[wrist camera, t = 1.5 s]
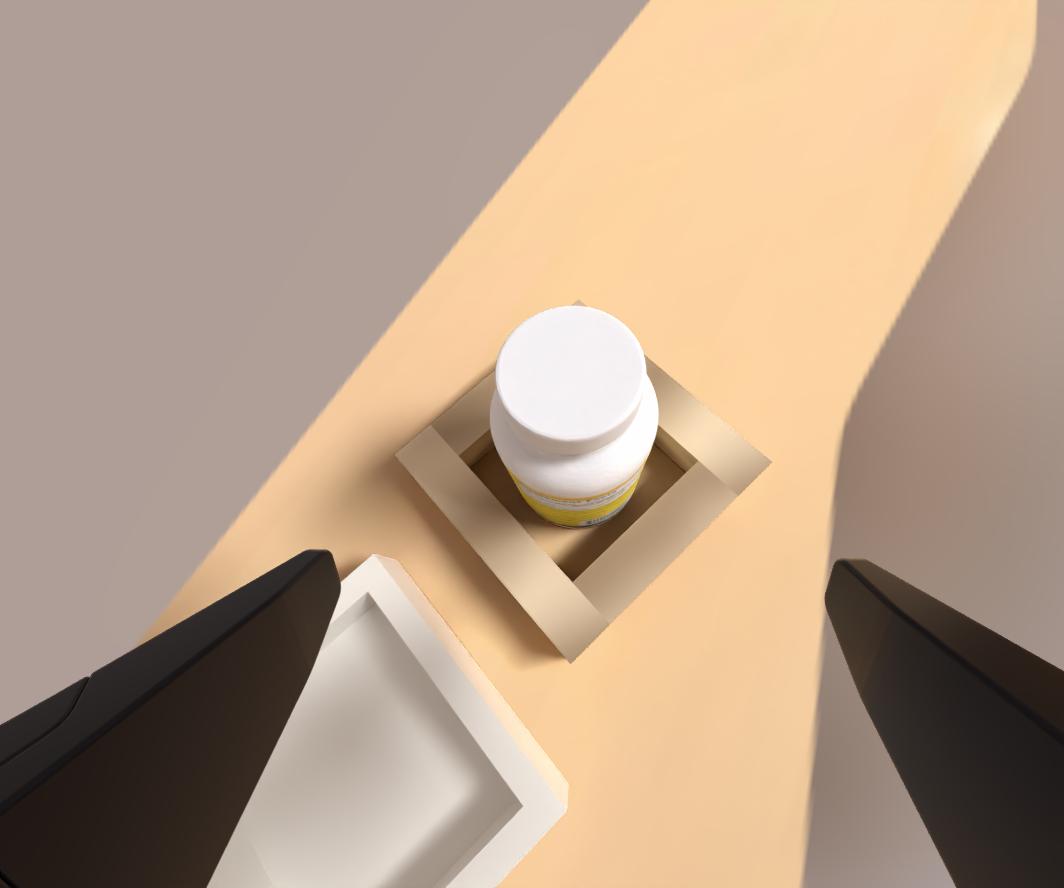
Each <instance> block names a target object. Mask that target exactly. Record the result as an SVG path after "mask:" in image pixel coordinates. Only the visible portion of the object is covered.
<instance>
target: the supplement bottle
mask: <svg viewBox="0 0 1064 888" xmlns="http://www.w3.org/2000/svg"><path fill="white" fill-rule="evenodd" d="M495 386H496V388H495V391H494V394H493V397H492V401H491V407H490V428H491V434H492V438H493V441H494V444H495V447H496V449H497V451H498V454H499V456H500V458H501V460H502V462H503V463H504V465H505V467H506V468H507V470H508V472H509V473H510V475H511V477H512V479H513V481H514V482H515V484H516V486H517V488H518V489H519V491H520V493H521V495H522V496H523V498H524V499H525V501H526V502H527V504H528V505H529V506H530V507H531V508H532V509H533V510H534V511H535V512H536V513H537V514H538V515H539V516H541V517H542V518H544V519H545V520H547V521H549V522H551V523H553V524H555V525H558V526H562V527H567V528H576V529H580V528H589V527H593V526H597V525H600V524H602V523H604V522H606V521H608V520H610V519H611V518H613V517H614V516H616V515H617V514H618V513H619V512H620V511H621V510H622V509H623V508H624V507H625V506H626V504H627V503H628V501H629V500H630V498H631V496H632V495H633V493H634V490H635V488H636V485H637V483H638V480H639V478H640V475H641V473H642V470H643V468H644V465H645V463H646V461H647V459H648V456H649V454H650V451H651V448H652V445H653V442H654V440H655V437H656V432H657V427H658V402H657V398H656V394H655V391H654V388H653V386H652V383H651V381H650V379H649V377H648V376H647V374H646V363H645V358H644V354H643V351H642V349H641V347H640V344H639V342H638V341H637V339H636V337H635V336H634V335H633V333H632V332H631V331H630V330H629V329H628V328H627V326H625V325H624V324H623V323H622V322H621V321H619V320H618V319H616V318H615V317H613V316H611V315H609V314H607V313H605V312H603V311H600V310H597V309H594V308H589V307H584V306H562V307H556V308H552V309H548V310H545V311H542V312H540V313H538V314H536V315H534V316H532V317H530V318H528V319H527V320H525V321H524V322H523V323H521V324H520V325H519V326H518V327H517V328H516V329H515V330H514V331H513V332H512V333H511V334H510V335H509V337H508V338H507V340H506V341H505V342H504V344H503V346H502V348H501V350H500V353H499V355H498V358H497V362H496V367H495Z"/></svg>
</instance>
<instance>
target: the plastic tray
mask: <svg viewBox="0 0 1064 888" xmlns="http://www.w3.org/2000/svg"><path fill="white" fill-rule="evenodd" d="M568 789H569V783H568V782H567V781H566V779H565V778H564V777H563V776H562V774H561V773H560V772H559V770H558V769H557V768H556V766H555V765H554V764H553V762H552V761H551V760H550V759H549V757H548V756H547V755H546V753H545V752H544V751H543V749H542V748H541V747H540V746H539V744H538V743H537V742H536V740H535V739H534V738H533V736H532V735H531V734H530V733H529V731H528V730H527V729H526V727H525V726H524V725H523V723H522V722H521V721H520V719H519V718H518V717H517V716H516V714H515V713H514V712H513V710H512V709H511V708H510V706H509V705H508V704H507V703H506V701H505V700H504V699H503V697H502V696H501V695H500V693H499V692H498V691H497V690H496V688H495V687H494V686H493V684H492V683H491V682H490V680H489V679H488V678H487V676H486V675H485V674H484V673H483V671H482V670H481V669H480V667H479V666H478V665H477V663H476V662H475V661H474V660H473V658H472V657H471V656H470V654H469V653H468V652H467V650H466V649H465V648H464V647H463V645H462V644H461V643H460V641H459V640H458V639H457V637H456V636H455V635H454V633H453V632H452V631H451V630H450V628H449V627H448V626H447V624H446V623H445V622H444V620H443V619H442V618H441V617H440V615H439V614H438V613H437V611H436V610H435V609H434V607H433V606H432V605H431V604H430V602H429V601H428V600H427V598H426V597H425V596H424V594H423V593H422V592H421V590H420V589H419V588H418V587H417V585H416V584H415V583H414V581H413V580H412V579H411V577H410V576H409V575H408V574H407V572H406V571H405V570H404V568H403V567H402V566H401V564H400V563H399V562H398V561H397V560H396V559H392V558H388V557H385V556H381V555H377V554H373V555H371V556H370V557H369V558H368V559H367V560H366V561H365V562H363V563H362V564H361V565H360V566H359V567H358V568H357V569H355V570H354V571H353V572H352V573H351V574H350V575H349V576H347V577H346V578H345V579H344V580H343V581H342V582H341V593H340V597H339V600H338V602H337V605H336V608H335V611H334V613H333V616H332V619H331V621H330V624H329V627H328V630H327V632H326V635H325V638H324V640H323V643H322V646H321V649H320V651H319V654H318V657H317V659H316V662H315V664H314V667H313V669H312V672H311V674H310V676H309V678H308V681H307V683H306V685H305V687H304V689H303V691H302V693H301V695H300V697H299V699H298V701H297V703H296V705H295V708H294V710H293V712H292V714H291V716H290V718H289V720H288V722H287V724H286V726H285V728H284V730H283V732H282V734H281V736H280V738H279V740H278V742H277V744H276V747H275V749H274V751H273V753H272V755H271V757H270V759H269V761H268V763H267V765H266V767H265V769H264V771H263V773H262V775H261V777H260V779H259V781H258V784H257V786H256V788H255V790H254V792H253V794H252V796H251V798H250V800H249V802H248V804H247V806H246V808H245V810H244V812H243V814H242V816H241V818H240V821H239V823H238V825H237V827H236V829H235V831H234V833H233V835H232V837H231V839H230V841H229V843H228V845H227V847H226V849H225V851H224V853H223V855H222V857H221V860H220V862H219V864H218V866H217V868H216V870H215V872H214V874H213V876H212V878H211V880H210V882H209V884H208V886H207V888H495V887H496V886H497V885H498V884H499V883H500V882H501V881H502V880H503V879H504V878H505V876H506V875H507V874H508V873H509V872H510V871H511V870H512V869H513V868H514V867H515V866H516V865H517V864H518V863H519V862H520V860H521V859H522V858H523V857H524V856H525V855H526V854H527V853H528V852H529V851H530V850H531V849H532V848H533V847H534V846H535V844H536V843H537V842H538V841H539V840H540V839H541V838H542V837H543V836H544V835H545V834H546V833H547V832H548V831H549V830H550V828H551V827H552V826H553V825H554V824H555V823H556V822H557V821H558V820H559V819H560V818H561V817H562V816H563V815H564V813H565V812H566V811H567V804H568Z"/></svg>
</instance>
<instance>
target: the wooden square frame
mask: <svg viewBox="0 0 1064 888" xmlns="http://www.w3.org/2000/svg"><path fill="white" fill-rule="evenodd" d="M572 306H584V307H587V306H586V305H584V304H583V303H582V302H581V301H580V300H578V301H576V302H575V303H574V304H573V305H572ZM644 358H645V363H646V374H647V376H648V377H649V379H650V381H651V383H652V386H653V388H654V391H655V394H656V398H657V402H658V427H657V432H656V437H655V440H654V442H653V443H654V444H655V445H657V446H658V447H659V448H660V449H661V450H662V451H663V452H664V453H665V454H666V455H668V456H669V457H670V458H671V459H672V460H673V461H674V462H675V463H676V464H677V465H679V466H680V467H681V468H682V469H683V470H684V471H685V472H686V473H685V474H684V475H683V476H682V477H681V478H680V479H679V480H678V481H677V482H676V483H675V484H674V485H673V486H672V487H671V488H670V489H669V490H668V491H667V492H665V493H664V494H663V495H662V496H661V497H660V498H659V499H658V500H657V501H656V502H655V503H654V504H653V505H652V506H651V507H650V508H649V509H648V510H647V511H646V512H645V513H644V514H643V515H642V516H641V517H640V518H639V519H638V520H637V521H635V522H634V523H633V524H632V525H631V526H630V527H629V528H628V529H627V530H626V531H625V532H624V533H623V534H622V535H621V536H620V537H619V538H618V539H617V540H616V541H615V542H614V543H613V544H612V545H611V546H610V547H609V548H608V549H606V550H605V551H604V552H603V553H602V554H601V555H600V556H599V557H598V558H597V559H596V560H595V561H594V562H593V563H592V564H591V565H590V566H589V567H588V568H587V569H586V570H585V571H584V572H583V573H582V574H581V575H580V576H579V577H578V578H576V579H575V580H574V581H573V582H572V581H571V580H570V579H569V578H568V577H567V576H566V575H565V574H564V573H563V572H562V570H561V569H560V568H559V567H558V566H557V565H556V564H555V563H554V562H553V560H552V559H551V558H550V557H549V556H548V555H547V554H546V553H545V552H544V550H543V549H542V548H541V547H540V546H539V545H538V544H537V543H536V542H535V540H534V539H533V538H532V537H531V536H530V535H529V534H528V533H527V532H526V530H525V529H524V528H523V527H522V526H521V525H520V524H519V523H518V522H517V520H516V519H515V518H514V517H513V516H512V515H511V514H510V513H509V512H508V510H507V509H506V508H505V507H504V506H503V505H502V504H501V503H500V502H499V500H498V499H497V498H496V497H495V496H494V495H493V494H492V493H491V492H490V490H489V489H488V488H487V487H486V486H485V485H484V484H483V483H482V482H481V481H480V479H479V478H478V477H477V476H476V475H475V474H474V473H473V472H472V471H471V469H470V467H472V466H473V465H474V464H475V463H476V462H477V461H478V460H480V459H481V458H482V457H483V456H484V455H485V454H487V453H488V452H489V451H490V450H491V449H492V448H493V447H495V444H494V441H493V438H492V434H491V428H490V407H491V401H492V397H493V394H494V391H495V388H496V386H495V370H494V371H493V372H492V373H491V374H490V375H488V376H487V377H486V378H485V379H484V380H482V381H481V382H480V383H479V384H478V385H476V386H475V387H474V388H473V389H472V390H471V391H469V392H468V393H467V394H466V395H465V396H463V397H462V398H461V399H460V400H459V401H457V402H456V403H455V404H454V405H453V406H451V407H450V408H449V409H448V410H447V411H446V412H444V413H443V414H442V415H441V416H440V417H438V418H437V419H436V420H435V421H434V422H432V423H431V424H430V425H429V426H428V427H426V428H425V429H424V430H423V431H422V432H421V433H419V434H418V435H417V436H416V437H415V438H413V439H412V440H411V441H410V442H409V443H407V444H406V445H405V446H404V447H403V448H402V449H400V450H399V451H398V452H397V453H396V454H394V455H395V456H396V457H397V458H398V460H399V461H400V462H401V463H402V464H403V466H404V467H405V468H406V469H407V470H408V472H409V473H410V474H411V475H412V476H413V477H414V479H415V480H416V481H417V482H418V483H419V485H420V486H421V487H422V488H423V489H424V491H425V492H426V493H427V494H428V495H429V496H430V498H431V499H432V500H433V501H434V502H435V504H436V505H437V506H438V507H439V508H440V510H441V511H442V512H443V513H444V514H445V515H446V517H447V518H448V519H449V520H450V521H451V523H452V524H453V525H454V526H455V527H456V529H457V530H458V531H459V532H460V533H461V535H462V536H463V537H464V538H465V539H466V540H467V542H468V543H469V544H470V545H471V546H472V548H473V549H474V550H475V551H476V552H477V554H478V555H479V556H480V557H481V558H482V559H483V561H484V562H485V563H486V564H487V565H488V567H489V568H490V569H491V570H492V571H493V573H494V574H495V575H496V576H497V577H498V578H499V580H500V581H501V582H502V583H503V584H504V586H505V587H506V588H507V589H508V590H509V592H510V593H511V594H512V595H513V596H514V597H515V599H516V600H517V601H518V602H519V603H520V605H521V606H522V607H523V608H524V609H525V611H526V612H527V613H528V614H529V615H530V617H531V618H532V619H533V620H534V621H535V622H536V624H537V625H538V626H539V627H540V628H541V630H542V631H543V632H544V633H545V634H546V636H547V637H548V638H549V639H550V640H551V641H552V643H553V644H554V645H555V646H556V647H557V649H558V650H559V651H560V652H561V653H562V655H563V656H564V657H565V658H566V659H567V660H568V662H569V663H570V664H571V663H572V662H573V661H574V660H575V659H576V658H577V657H578V656H579V655H580V654H581V653H582V652H583V651H584V650H585V649H586V648H587V647H588V646H589V645H590V644H591V643H592V642H593V641H594V640H595V639H596V638H597V637H598V636H599V635H600V634H601V633H602V632H603V631H604V630H605V629H606V628H607V627H608V626H609V625H610V624H611V623H612V622H613V621H614V620H615V619H616V618H617V617H618V616H619V615H620V614H621V613H622V612H623V611H624V610H625V609H626V608H627V607H628V606H629V605H630V604H631V603H632V602H633V601H634V600H635V599H636V598H637V597H638V596H639V595H640V594H641V593H642V592H643V591H644V590H645V589H646V588H647V587H648V586H649V585H650V584H651V583H652V582H653V581H654V580H655V579H656V578H657V577H658V576H659V575H660V574H661V573H662V572H663V571H664V570H665V569H666V568H667V567H668V566H669V565H670V564H671V563H672V562H673V561H674V560H675V559H676V558H677V557H678V556H679V555H680V554H681V553H682V552H683V551H684V550H685V549H686V548H687V547H688V546H689V545H690V544H691V543H692V542H693V541H694V540H695V539H696V538H697V537H698V536H699V535H700V534H701V533H702V532H703V531H704V530H705V529H706V528H707V527H708V526H709V525H710V524H711V523H712V522H713V521H714V520H715V519H716V518H717V517H718V516H719V515H720V514H721V513H722V512H723V511H724V510H725V509H726V508H727V507H728V506H729V505H730V504H731V503H732V502H733V501H734V500H735V499H736V498H737V497H738V496H739V495H740V494H741V493H742V492H743V491H744V490H745V489H746V488H747V487H748V486H749V485H750V484H751V483H752V482H753V481H754V480H755V479H756V478H757V477H758V476H759V475H760V474H761V473H762V472H763V471H764V470H765V469H766V468H767V467H768V466H769V465H770V464H771V463H772V461H770V460H769V459H768V458H767V457H766V456H764V455H763V454H762V453H761V452H760V451H758V450H757V449H756V448H755V447H754V446H753V445H751V444H750V443H749V442H748V441H747V440H745V439H744V438H743V437H742V436H741V435H739V434H738V433H737V432H736V431H735V430H733V429H732V428H731V427H730V426H729V425H728V424H726V423H725V422H724V421H723V420H722V419H720V418H719V417H718V416H717V415H716V414H714V413H713V412H712V411H711V410H710V409H708V408H707V407H706V406H705V405H704V404H702V403H701V402H700V401H699V400H698V399H697V398H695V397H694V396H693V395H692V394H691V393H689V392H688V391H687V390H686V389H685V388H683V387H682V386H681V385H680V384H679V383H677V382H676V381H675V380H674V379H673V378H671V377H670V376H669V375H668V374H667V373H666V372H664V371H663V370H662V369H661V368H660V367H658V366H657V365H656V364H655V363H654V362H652V361H651V360H650V359H649V358H648V357H646V356H645V355H644Z"/></svg>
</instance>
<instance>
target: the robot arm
mask: <svg viewBox="0 0 1064 888" xmlns="http://www.w3.org/2000/svg"><path fill="white" fill-rule="evenodd" d="M340 593H341V582H340V579H339V575H338V572H337V568H336V565H335V561H334V558H333V555H332V553H331V552H330V551H328V550H320V549H310V550H306V551H304V552H302V553H300V554H298V555H297V556H295V557H293V558H291V559H290V560H288V561H286V562H285V563H283V564H281V565H279V566H278V567H276V568H274V569H272V570H271V571H269V572H267V573H265V574H264V575H262V576H260V577H258V578H257V579H255V580H253V581H251V582H250V583H248V584H246V585H245V586H243V587H241V588H239V589H238V590H236V591H234V592H232V593H231V594H229V595H227V596H225V597H224V598H222V599H220V600H218V601H217V602H215V603H213V604H212V605H210V606H208V607H206V608H205V609H203V610H201V611H199V612H198V613H196V614H194V615H192V616H191V617H189V618H187V619H185V620H184V621H182V622H180V623H178V624H177V625H175V626H173V627H172V628H170V629H168V630H166V631H165V632H163V633H161V634H159V635H158V636H156V637H154V638H152V639H151V640H149V641H147V642H145V643H144V644H142V645H140V646H139V647H137V648H135V649H133V650H132V651H130V652H128V653H126V654H125V655H123V656H121V657H119V658H118V659H116V660H114V661H112V662H111V663H109V664H107V665H106V666H104V667H102V668H100V669H99V670H97V671H95V672H93V673H92V674H91V676H90V677H84V678H83V679H81V680H79V681H78V682H76V683H74V684H72V685H71V686H69V687H67V688H65V689H64V690H62V691H60V692H58V693H57V694H55V695H53V696H51V697H50V698H48V699H46V700H44V701H43V702H41V703H39V704H37V705H35V706H34V707H32V708H30V709H28V710H26V711H25V712H23V713H21V714H19V715H18V716H16V717H14V718H12V719H10V720H9V721H7V722H5V723H3V724H1V725H0V888H207V886H208V884H209V882H210V880H211V878H212V876H213V874H214V872H215V870H216V868H217V866H218V864H219V862H220V860H221V857H222V855H223V853H224V851H225V849H226V847H227V845H228V843H229V841H230V839H231V837H232V835H233V833H234V831H235V829H236V827H237V825H238V823H239V821H240V818H241V816H242V814H243V812H244V810H245V808H246V806H247V804H248V802H249V800H250V798H251V796H252V794H253V792H254V790H255V788H256V786H257V784H258V781H259V779H260V777H261V775H262V773H263V771H264V769H265V767H266V765H267V763H268V761H269V759H270V757H271V755H272V753H273V751H274V749H275V747H276V744H277V742H278V740H279V738H280V736H281V734H282V732H283V730H284V728H285V726H286V724H287V722H288V720H289V718H290V716H291V714H292V712H293V710H294V708H295V705H296V703H297V701H298V699H299V697H300V695H301V693H302V691H303V689H304V687H305V685H306V683H307V681H308V678H309V676H310V674H311V672H312V669H313V667H314V664H315V662H316V659H317V657H318V654H319V651H320V649H321V646H322V643H323V640H324V638H325V635H326V632H327V630H328V627H329V624H330V621H331V619H332V616H333V613H334V611H335V608H336V605H337V602H338V600H339V597H340ZM825 606H826V610H827V612H828V615H829V618H830V620H831V623H832V625H833V628H834V631H835V633H836V636H837V639H838V641H839V644H840V646H841V649H842V652H843V654H844V657H845V660H846V662H847V664H848V667H849V670H850V672H851V675H852V678H853V680H854V683H855V685H856V688H857V690H858V692H859V695H860V697H861V699H862V701H863V704H864V705H865V708H866V710H867V712H868V714H869V716H870V718H871V719H872V722H873V724H874V726H875V728H876V730H877V732H878V734H879V736H880V738H881V739H882V741H883V743H884V746H885V748H886V749H887V751H888V753H889V755H890V757H891V759H892V761H893V763H894V765H895V767H896V769H897V771H898V773H899V775H900V777H901V779H902V781H903V783H904V785H905V787H906V789H907V791H908V793H909V795H910V797H911V799H912V801H913V803H914V805H915V807H916V809H917V811H918V813H919V814H920V817H921V819H922V821H923V823H924V825H925V827H926V828H927V831H928V833H929V834H930V836H931V838H932V840H933V842H934V844H935V846H936V848H937V850H938V852H939V854H940V856H941V858H942V860H943V862H944V864H945V866H946V868H947V870H948V872H949V874H950V876H951V878H952V880H953V882H954V884H955V886H956V888H1064V671H1063V670H1061V669H1059V668H1057V667H1056V666H1054V665H1052V664H1050V663H1048V662H1047V661H1045V660H1043V659H1041V658H1040V657H1038V656H1036V655H1034V654H1033V653H1031V652H1029V651H1027V650H1026V649H1024V648H1022V647H1020V646H1019V645H1017V644H1015V643H1013V642H1011V641H1010V640H1008V639H1006V638H1004V637H1003V636H1001V635H999V634H997V633H996V632H994V631H992V630H990V629H988V628H987V627H985V626H983V625H981V624H980V623H978V622H976V621H974V620H973V619H970V618H969V617H967V616H965V615H964V614H962V613H960V612H958V611H957V610H955V609H953V608H951V607H950V606H948V605H946V604H944V603H942V602H941V601H939V600H937V599H935V598H934V597H932V596H930V595H928V594H927V593H925V592H923V591H921V590H919V589H918V588H916V587H914V586H912V585H911V584H909V583H907V582H905V581H903V580H902V579H900V578H898V577H896V576H895V575H893V574H891V573H889V572H888V571H886V570H884V569H882V568H880V567H879V566H877V565H875V564H873V563H871V562H869V561H868V560H866V559H861V558H860V559H859V558H841V559H838V560H837V561H836V562H835V563H834V565H833V568H832V572H831V575H830V579H829V582H828V586H827V589H826V592H825Z"/></svg>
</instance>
